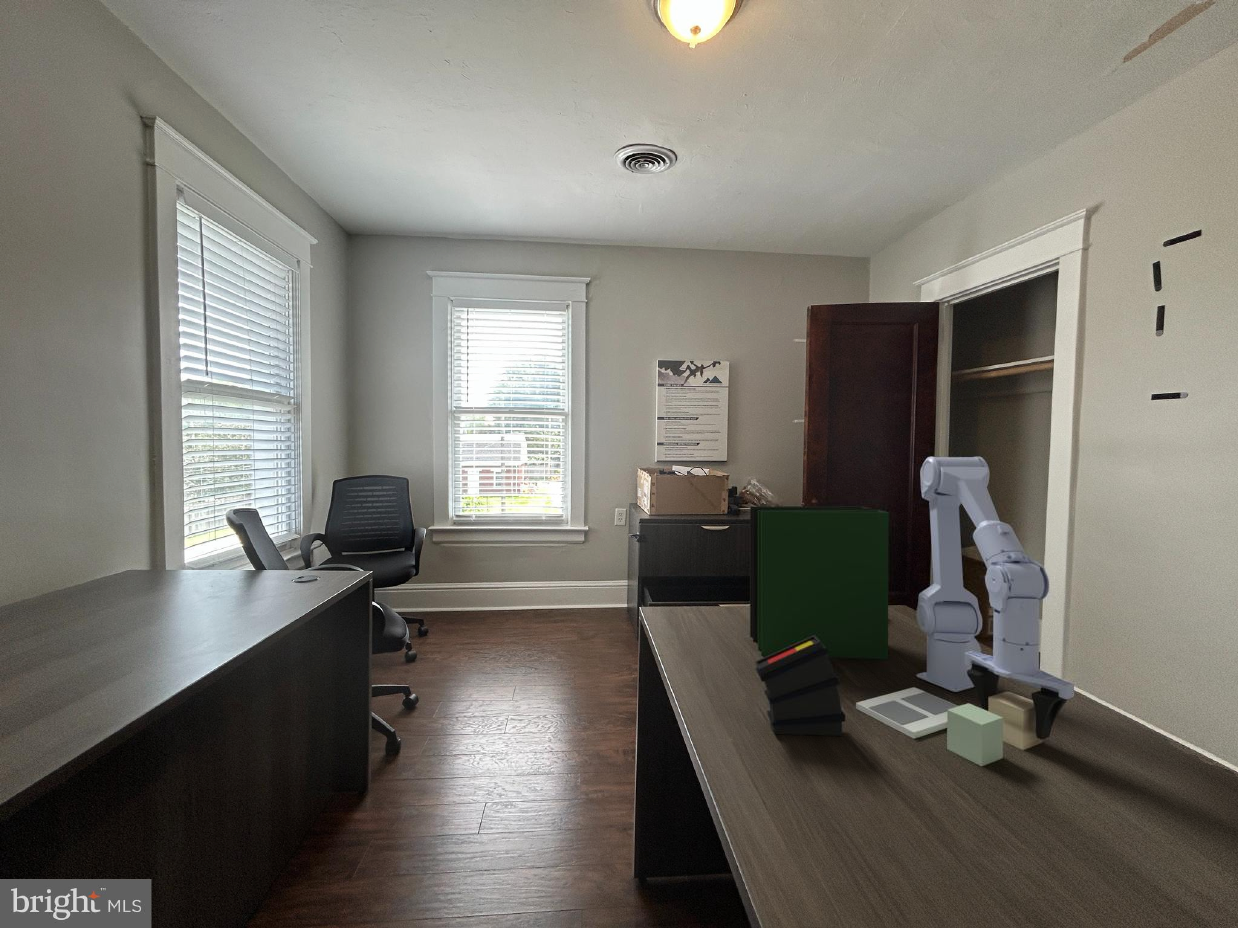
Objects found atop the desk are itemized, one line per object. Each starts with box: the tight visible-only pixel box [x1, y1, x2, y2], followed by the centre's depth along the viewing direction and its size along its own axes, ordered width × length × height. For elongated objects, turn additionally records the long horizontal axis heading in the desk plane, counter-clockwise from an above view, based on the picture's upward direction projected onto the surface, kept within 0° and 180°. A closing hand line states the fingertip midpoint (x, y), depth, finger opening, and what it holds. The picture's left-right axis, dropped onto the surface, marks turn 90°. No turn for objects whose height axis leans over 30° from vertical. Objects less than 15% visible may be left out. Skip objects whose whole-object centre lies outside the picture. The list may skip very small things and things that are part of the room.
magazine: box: [754, 635, 846, 737], centre depth 85 cm, size 4×13×15 cm, turn 87°
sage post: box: [946, 703, 1004, 767], centre depth 79 cm, size 5×5×6 cm
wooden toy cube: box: [988, 691, 1043, 751], centre depth 83 cm, size 5×5×6 cm
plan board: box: [855, 687, 959, 739], centre depth 91 cm, size 15×11×1 cm
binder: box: [749, 505, 890, 660], centre depth 124 cm, size 27×15×32 cm, turn 87°
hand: (1015, 725), depth 83 cm, fingers open, 7 cm apart
